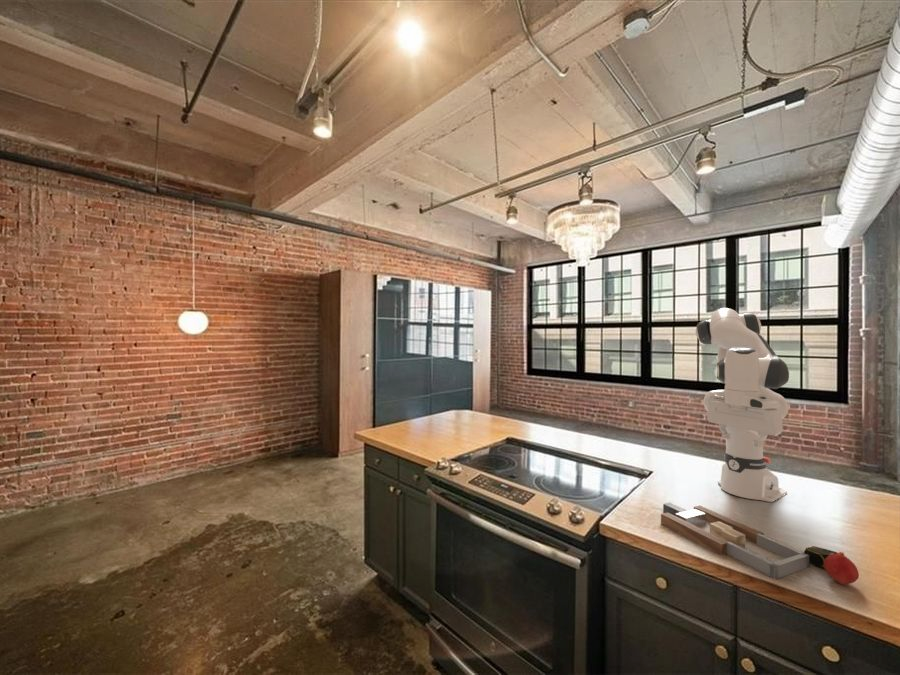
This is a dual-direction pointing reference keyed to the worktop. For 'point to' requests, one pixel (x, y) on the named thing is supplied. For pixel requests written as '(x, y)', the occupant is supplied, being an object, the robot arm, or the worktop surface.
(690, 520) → the grey t-shaped block
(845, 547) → the worktop surface
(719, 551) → the slot rails
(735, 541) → the chip
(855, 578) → the onion
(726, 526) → the tan wooden cube
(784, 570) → the tray
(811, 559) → the tape measure
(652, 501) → the worktop surface
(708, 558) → the worktop surface
